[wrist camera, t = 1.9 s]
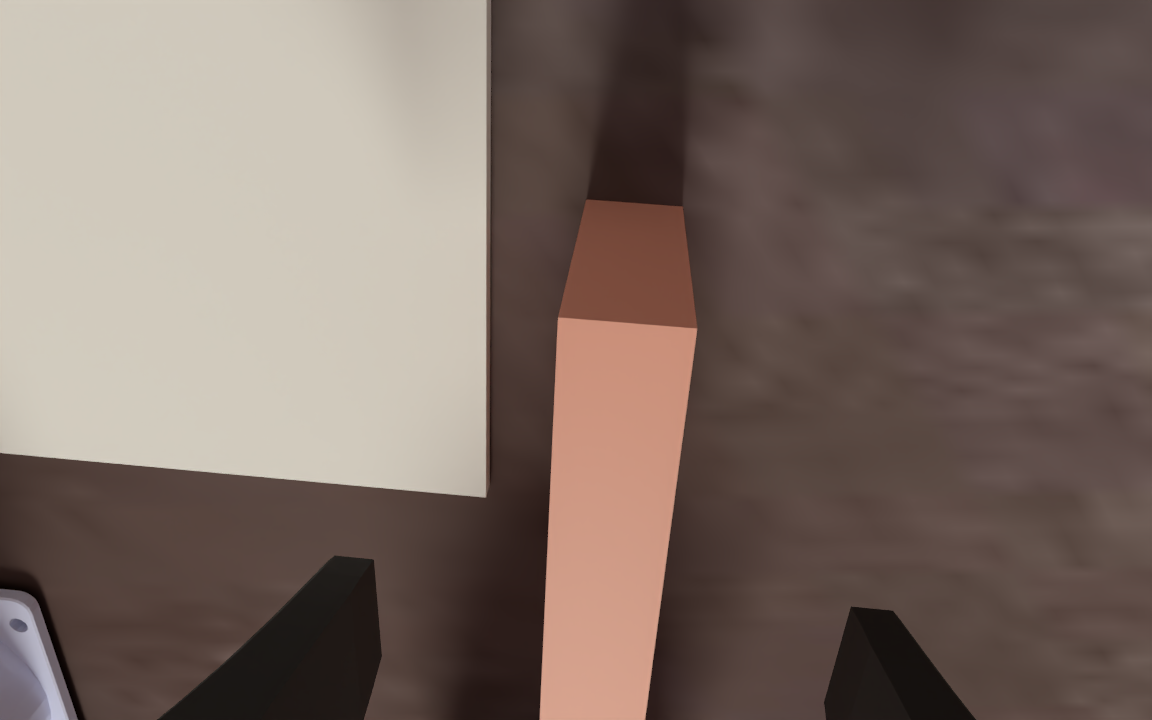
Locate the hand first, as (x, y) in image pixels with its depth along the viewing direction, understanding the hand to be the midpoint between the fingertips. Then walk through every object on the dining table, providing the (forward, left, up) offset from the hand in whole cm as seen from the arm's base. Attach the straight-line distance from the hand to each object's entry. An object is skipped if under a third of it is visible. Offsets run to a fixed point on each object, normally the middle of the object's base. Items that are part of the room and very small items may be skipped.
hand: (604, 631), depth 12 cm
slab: (0, 0, -8) cm, 8 cm away
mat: (+4, +10, -7) cm, 13 cm away
